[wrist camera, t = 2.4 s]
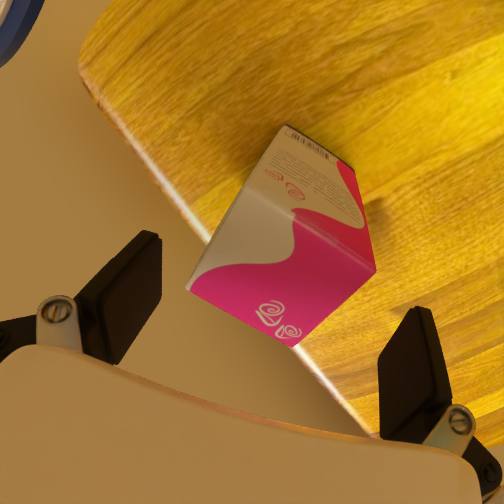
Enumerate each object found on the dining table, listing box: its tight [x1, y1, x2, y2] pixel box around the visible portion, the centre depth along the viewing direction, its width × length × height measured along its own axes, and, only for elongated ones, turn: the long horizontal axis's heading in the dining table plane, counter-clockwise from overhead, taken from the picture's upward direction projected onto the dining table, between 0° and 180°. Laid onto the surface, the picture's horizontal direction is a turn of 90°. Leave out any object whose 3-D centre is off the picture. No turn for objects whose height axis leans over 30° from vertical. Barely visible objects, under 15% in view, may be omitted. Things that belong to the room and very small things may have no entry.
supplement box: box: [185, 124, 376, 347], centre depth 17 cm, size 6×6×12 cm
